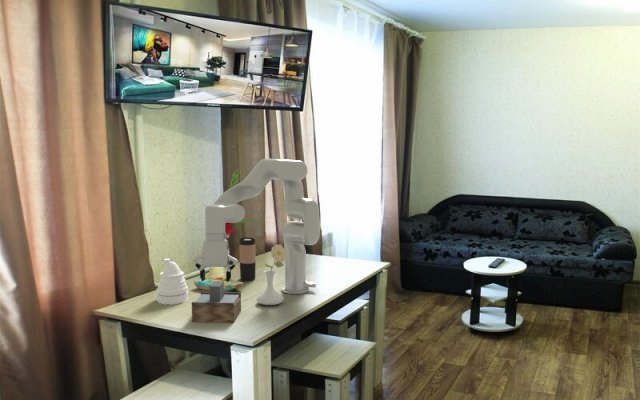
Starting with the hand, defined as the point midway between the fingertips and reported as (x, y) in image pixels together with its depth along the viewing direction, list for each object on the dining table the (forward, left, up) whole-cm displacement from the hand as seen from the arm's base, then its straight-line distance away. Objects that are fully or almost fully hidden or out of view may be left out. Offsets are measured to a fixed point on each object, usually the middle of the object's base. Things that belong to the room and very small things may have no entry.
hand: (215, 280), depth 219 cm
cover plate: (0, 0, -8) cm, 8 cm away
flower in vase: (-19, -18, -15) cm, 30 cm away
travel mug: (-2, -55, -15) cm, 57 cm away
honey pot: (+24, -20, -15) cm, 34 cm away
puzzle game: (+8, -37, -15) cm, 41 cm away
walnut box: (0, 0, -14) cm, 14 cm away
